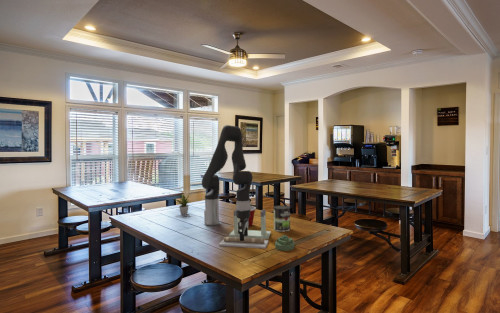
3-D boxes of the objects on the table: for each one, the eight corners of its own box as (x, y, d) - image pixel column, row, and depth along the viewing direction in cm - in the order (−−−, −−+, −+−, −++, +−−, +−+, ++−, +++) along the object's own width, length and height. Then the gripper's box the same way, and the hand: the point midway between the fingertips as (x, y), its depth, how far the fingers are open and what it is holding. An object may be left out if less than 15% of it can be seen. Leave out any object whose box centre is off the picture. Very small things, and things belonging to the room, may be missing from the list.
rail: (223, 242, 162) (223, 238, 161) (225, 240, 164) (224, 235, 164) (263, 244, 157) (263, 240, 156) (264, 242, 159) (264, 237, 159)
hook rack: (228, 237, 173) (228, 211, 172) (233, 231, 182) (233, 207, 182) (268, 239, 168) (267, 212, 167) (270, 233, 177) (270, 208, 177)
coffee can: (293, 230, 184) (293, 207, 183) (279, 232, 179) (279, 209, 178) (284, 226, 193) (283, 204, 192) (270, 228, 188) (270, 206, 187)
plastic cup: (245, 228, 189) (244, 209, 189) (237, 224, 199) (236, 206, 198) (259, 225, 195) (259, 207, 194) (251, 222, 204) (250, 204, 204)
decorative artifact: (297, 250, 150) (291, 243, 160) (296, 236, 150) (291, 230, 160) (277, 251, 148) (273, 245, 158) (277, 237, 148) (272, 232, 158)
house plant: (185, 210, 244) (185, 190, 243) (197, 212, 236) (197, 192, 235) (171, 214, 232) (171, 193, 231) (183, 216, 224) (183, 194, 223)
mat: (218, 245, 158) (218, 243, 158) (224, 239, 168) (224, 238, 168) (265, 248, 153) (265, 246, 153) (268, 242, 163) (268, 240, 163)
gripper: (239, 205, 167) (240, 233, 168) (232, 211, 153) (233, 242, 154) (252, 205, 166) (253, 234, 166) (247, 211, 152) (247, 243, 153)
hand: (243, 238), depth 160 cm, fingers open, 8 cm apart
